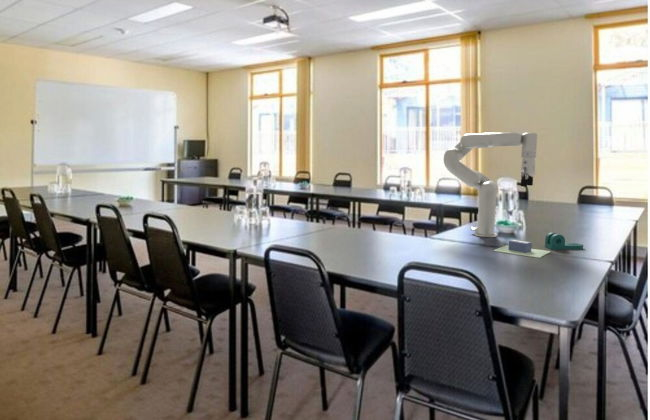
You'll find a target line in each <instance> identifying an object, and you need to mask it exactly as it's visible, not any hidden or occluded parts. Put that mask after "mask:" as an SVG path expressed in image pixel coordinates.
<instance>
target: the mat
mask: <svg viewBox="0 0 650 420" xmlns="http://www.w3.org/2000/svg"><path fill="white" fill-rule="evenodd" d="M508 248H509V244H505V245H504V246H501V247H500V246H499V247H498V248H496V249H493V251H492V252H495V253H501V254H502V253H503V254H509V255H517V256H524V257H529V258H536V259H541V258H542V257H544V256H546V255H548V254H549V253H551V251H550V250H544V249H535V248H531V252H527V253H524V252H518V251H513V250H508Z"/></svg>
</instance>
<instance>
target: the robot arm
mask: <svg viewBox="0 0 650 420" xmlns="http://www.w3.org/2000/svg"><path fill="white" fill-rule="evenodd" d="M537 143H538V134H537V133H536V132H524V133H521V132H515V131H511V132H509V131H508V132H482V133H480V132H479V133H465V134H463V135H462V136H461V137H460V140H459V142H458V144H456V145H455V146H454V147H451V148H448V149H447V150H446V151H445V153H444V154H443V165H444V166H445V168H446V171H448V172H449V173H451V175H453V176H454V177H456V178H457V179H458V180H460V181H461V182H463V183H464V184H465V185H466V186H468V187H470V188H474V189H476V191H478V211H477V226H476V227H473V226H471V228H470V231H473V232H474V231H475V232H474V234H473V235H474V236H475V237H481V238H496V237H497V236H498V234H497V233H496V232H495V226H496V225H495V223H496V210H497V209H496V207H497V194H498V192H499V186H498V184H497V183H496V182H495V181H493V179H491V178H490V177H488V176H486V175H485V174H483V173H482V172H480V171H477V170H473V169H471V168H470V167H468V166H467V165H465V164H464V163H463V162H462V161H461V160H462V159H463V158H465V157H466V156H467V155H468V154H469V153H470V152H471V151H472V150H474V149H489V148H495V147H518V146H519V147H520V146H521V156H520V158H522V159H521V167H520V168H521V169H520V174H521V175H520V176H521V177H520V187H528V186H533V185H534V183H533V182H534V176H535V175H536V158H537V147H538V146H537Z"/></svg>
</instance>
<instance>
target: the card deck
mask: <svg viewBox="0 0 650 420" xmlns="http://www.w3.org/2000/svg"><path fill="white" fill-rule="evenodd" d="M532 244H533V243H532V241H526V240H518V239H512V240H509V241H508V245H509V248H508V250H513V251H518V252H524V253H527V252H531V249H532Z"/></svg>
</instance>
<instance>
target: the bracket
mask: <svg viewBox="0 0 650 420" xmlns="http://www.w3.org/2000/svg"><path fill="white" fill-rule="evenodd" d="M544 240H545V241H544V247H545V248H546V249H549V250H557V251H558V250H560V251H561V250H562V249H572V250H583V249H584V244H582V243H578V242H566V239H565V236H563V235H562V234H560V233H556V232H553V231H551V232H549V233H547V234H546V235H545V239H544Z"/></svg>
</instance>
